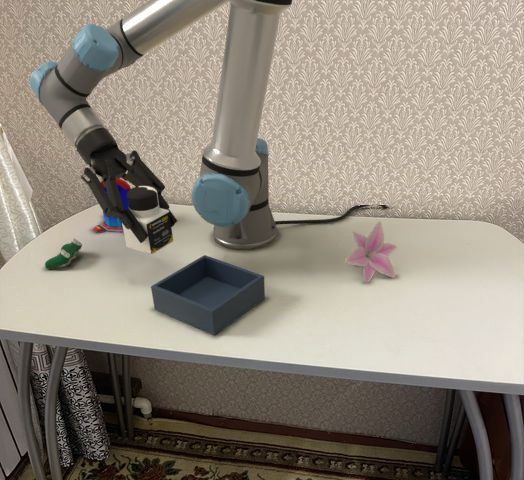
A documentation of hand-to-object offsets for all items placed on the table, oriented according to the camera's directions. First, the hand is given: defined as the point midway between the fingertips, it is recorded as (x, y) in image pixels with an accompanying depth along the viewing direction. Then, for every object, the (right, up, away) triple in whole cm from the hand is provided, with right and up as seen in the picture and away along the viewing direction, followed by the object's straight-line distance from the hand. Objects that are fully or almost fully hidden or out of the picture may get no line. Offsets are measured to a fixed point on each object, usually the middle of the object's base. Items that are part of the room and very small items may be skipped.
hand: (159, 231), depth 114 cm
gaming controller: (-24, -4, +14) cm, 28 cm away
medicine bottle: (-3, -2, +4) cm, 5 cm away
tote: (+11, -15, -2) cm, 18 cm away
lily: (+44, -8, +6) cm, 45 cm away
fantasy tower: (-15, +8, +30) cm, 34 cm away
